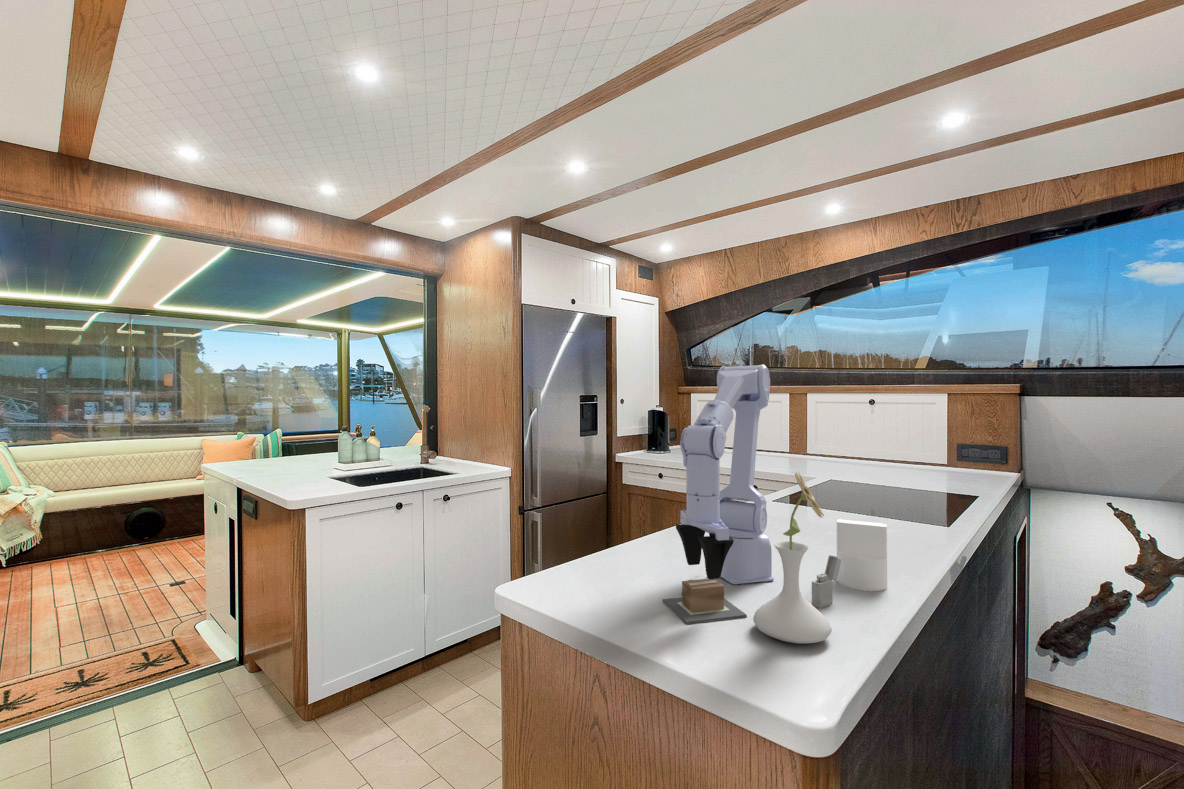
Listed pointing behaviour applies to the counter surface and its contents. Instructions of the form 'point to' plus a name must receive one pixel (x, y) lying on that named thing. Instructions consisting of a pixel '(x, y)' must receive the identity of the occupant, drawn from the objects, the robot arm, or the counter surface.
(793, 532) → the flower in vase
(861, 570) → the cylinder with rectangular tab
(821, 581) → the lighter
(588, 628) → the counter surface
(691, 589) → the cardboard box
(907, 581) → the counter surface
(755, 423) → the robot arm
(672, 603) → the mat
